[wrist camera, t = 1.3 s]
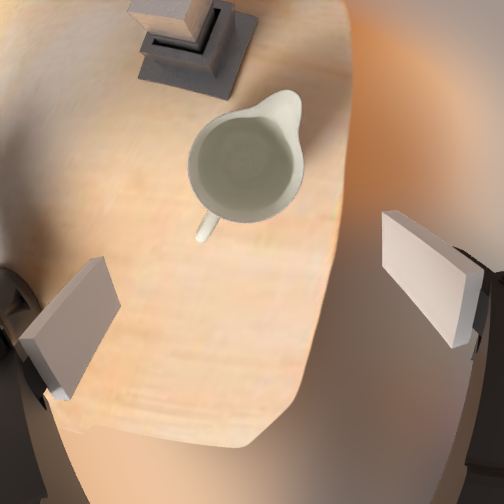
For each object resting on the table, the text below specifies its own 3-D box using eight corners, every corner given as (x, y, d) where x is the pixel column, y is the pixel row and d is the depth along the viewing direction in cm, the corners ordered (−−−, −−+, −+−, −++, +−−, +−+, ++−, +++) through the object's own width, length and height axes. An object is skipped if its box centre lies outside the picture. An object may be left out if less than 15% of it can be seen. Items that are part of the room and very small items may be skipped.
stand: (140, 79, 36) (113, 68, 27) (170, 0, 31) (153, -28, 23) (227, 101, 37) (223, 93, 28) (258, 20, 33) (263, -7, 24)
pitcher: (170, 200, 42) (141, 233, 29) (239, 81, 36) (239, 59, 24) (241, 239, 44) (241, 287, 32) (313, 125, 39) (347, 126, 26)
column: (172, 57, 34) (125, 12, 17) (185, 25, 32) (149, -37, 15) (208, 65, 34) (184, 21, 18) (220, 33, 33) (207, -29, 16)
